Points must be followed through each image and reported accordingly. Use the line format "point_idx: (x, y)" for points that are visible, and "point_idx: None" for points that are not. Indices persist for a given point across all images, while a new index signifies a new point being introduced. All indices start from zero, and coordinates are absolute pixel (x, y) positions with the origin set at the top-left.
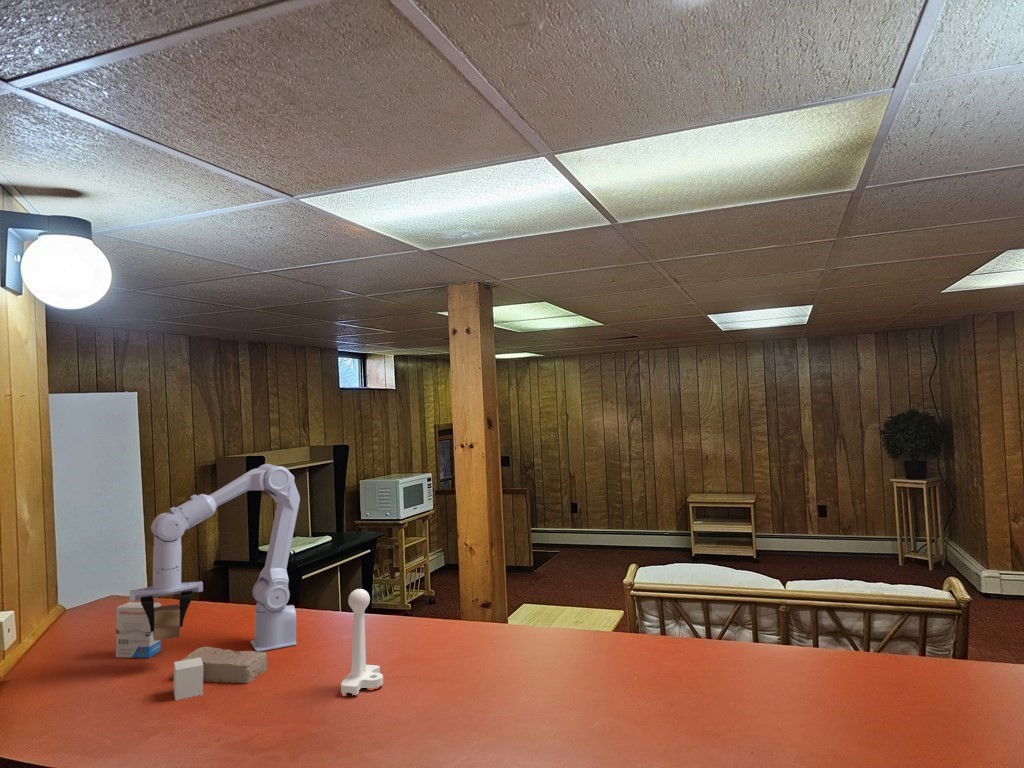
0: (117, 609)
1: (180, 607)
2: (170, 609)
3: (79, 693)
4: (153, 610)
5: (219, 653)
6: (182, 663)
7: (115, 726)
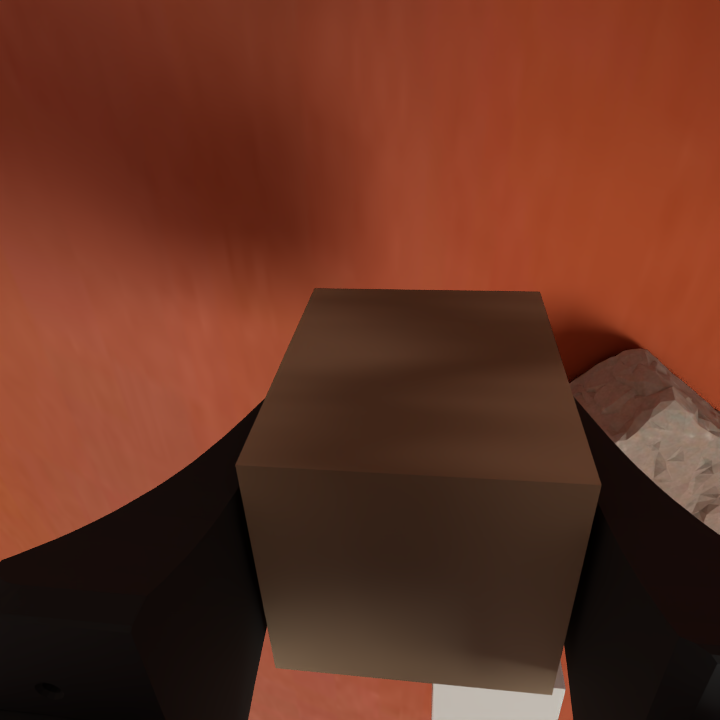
0: None
1: (574, 670)
2: (451, 638)
3: (56, 387)
4: (253, 680)
5: (717, 530)
6: (468, 704)
7: (259, 671)
